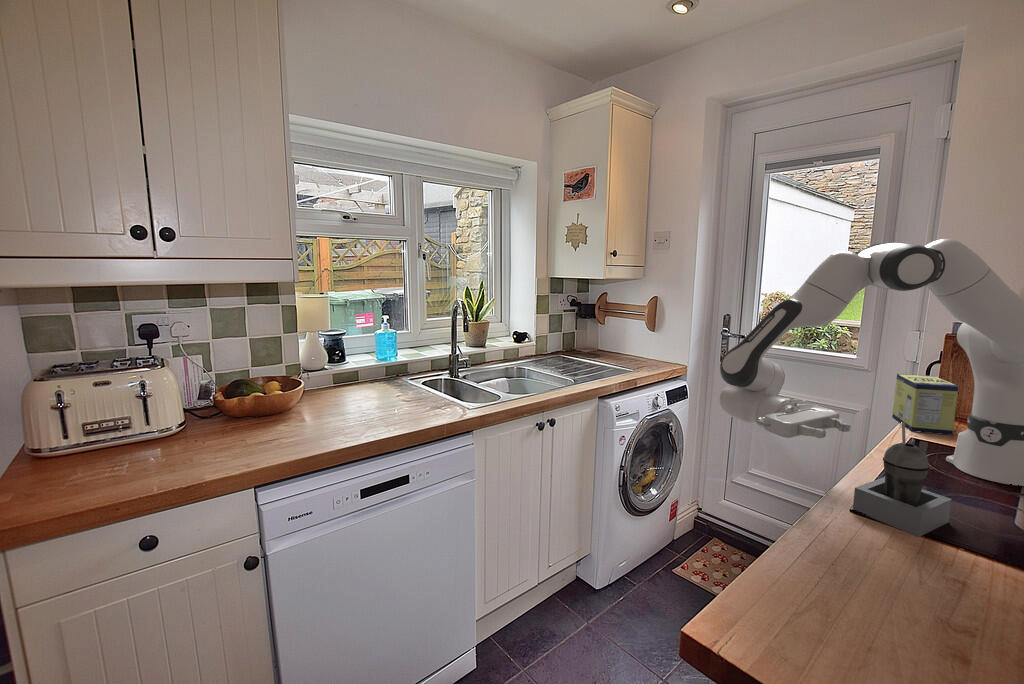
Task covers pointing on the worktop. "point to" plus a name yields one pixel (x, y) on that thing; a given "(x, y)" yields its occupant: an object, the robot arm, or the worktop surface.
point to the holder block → (902, 508)
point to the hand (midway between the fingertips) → (836, 431)
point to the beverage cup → (905, 471)
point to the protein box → (925, 403)
